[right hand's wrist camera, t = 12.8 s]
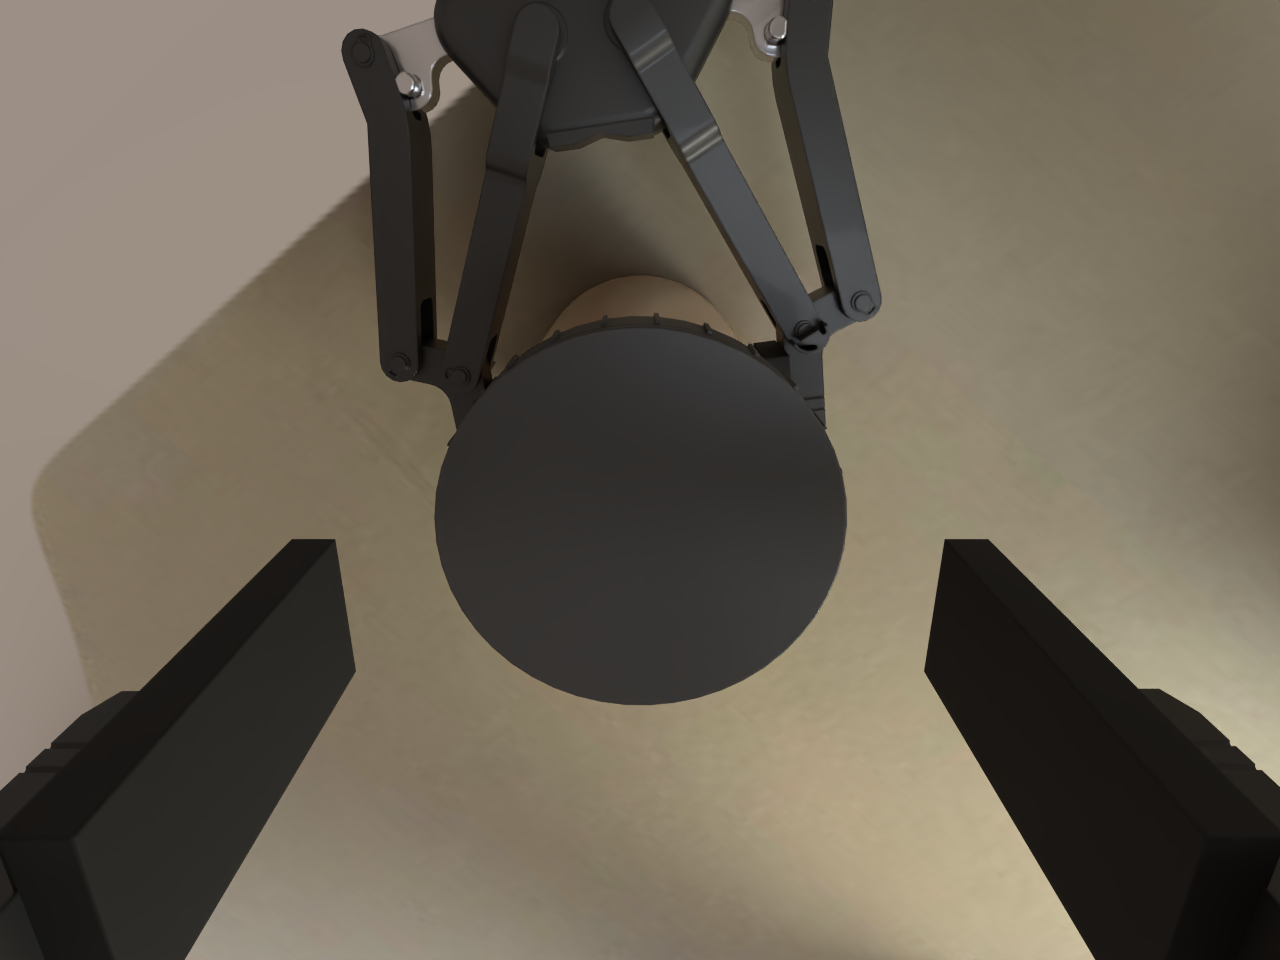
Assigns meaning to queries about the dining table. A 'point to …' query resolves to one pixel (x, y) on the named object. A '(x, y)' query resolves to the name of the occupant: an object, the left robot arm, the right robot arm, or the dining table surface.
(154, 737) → the right robot arm
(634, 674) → the lid
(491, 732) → the dining table surface
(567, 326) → the jar
